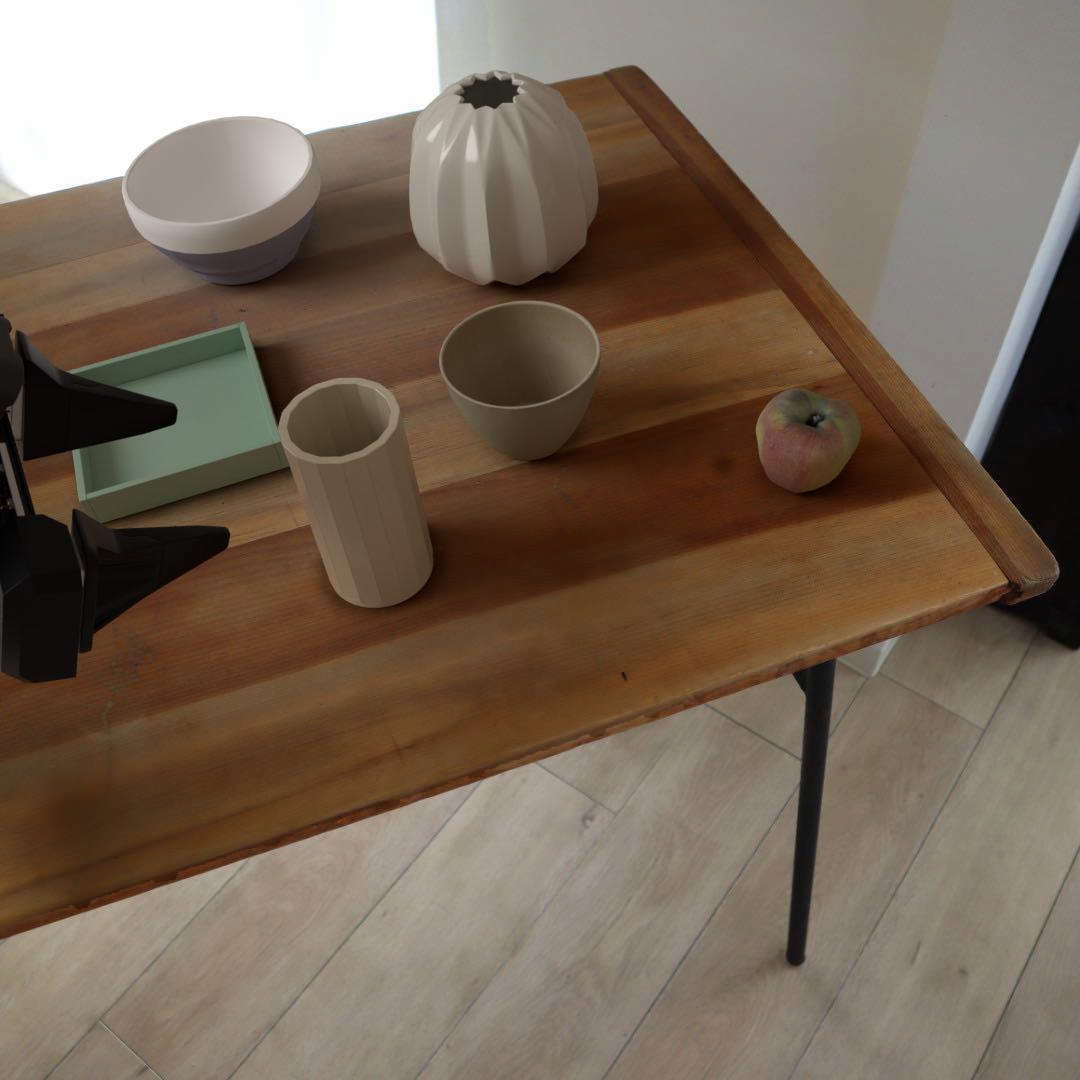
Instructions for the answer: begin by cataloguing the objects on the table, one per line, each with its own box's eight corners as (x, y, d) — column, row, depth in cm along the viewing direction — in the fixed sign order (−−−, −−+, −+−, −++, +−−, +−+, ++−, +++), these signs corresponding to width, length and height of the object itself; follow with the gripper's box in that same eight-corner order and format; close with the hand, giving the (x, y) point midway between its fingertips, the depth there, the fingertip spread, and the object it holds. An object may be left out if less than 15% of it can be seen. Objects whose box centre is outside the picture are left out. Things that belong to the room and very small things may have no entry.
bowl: (145, 324, 88) (109, 240, 82) (161, 211, 97) (129, 128, 92) (338, 297, 88) (316, 211, 83) (335, 187, 98) (315, 103, 92)
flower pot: (609, 382, 80) (605, 298, 75) (599, 491, 74) (594, 409, 69) (465, 380, 82) (451, 298, 76) (443, 487, 75) (426, 406, 70)
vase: (433, 199, 95) (407, 41, 85) (604, 198, 94) (599, 36, 84) (405, 310, 87) (371, 148, 77) (593, 311, 85) (584, 146, 75)
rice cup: (342, 621, 69) (292, 478, 59) (318, 544, 73) (267, 397, 63) (446, 588, 70) (413, 441, 60) (417, 513, 74) (382, 364, 64)
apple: (716, 449, 76) (720, 382, 71) (838, 428, 76) (849, 360, 71) (742, 519, 72) (748, 452, 67) (869, 496, 72) (884, 428, 68)
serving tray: (92, 526, 75) (78, 501, 74) (74, 397, 83) (61, 372, 82) (290, 466, 77) (281, 441, 76) (253, 346, 86) (244, 320, 84)
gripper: (-180, 496, 37) (291, 466, 46) (-215, 202, 48) (169, 220, 57) (-157, 721, 44) (249, 660, 52) (-192, 417, 55) (148, 406, 63)
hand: (201, 472), depth 56 cm, fingers open, 9 cm apart
